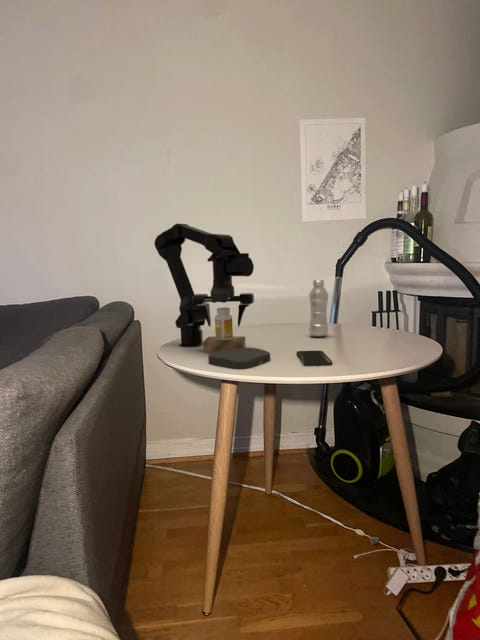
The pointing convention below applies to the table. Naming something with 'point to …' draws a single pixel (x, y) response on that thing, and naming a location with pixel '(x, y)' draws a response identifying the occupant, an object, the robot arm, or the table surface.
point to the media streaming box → (239, 357)
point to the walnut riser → (223, 344)
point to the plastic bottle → (318, 309)
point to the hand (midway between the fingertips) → (224, 326)
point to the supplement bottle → (223, 324)
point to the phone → (313, 358)
